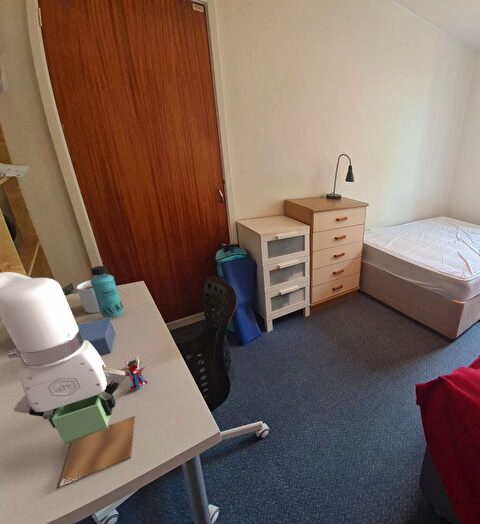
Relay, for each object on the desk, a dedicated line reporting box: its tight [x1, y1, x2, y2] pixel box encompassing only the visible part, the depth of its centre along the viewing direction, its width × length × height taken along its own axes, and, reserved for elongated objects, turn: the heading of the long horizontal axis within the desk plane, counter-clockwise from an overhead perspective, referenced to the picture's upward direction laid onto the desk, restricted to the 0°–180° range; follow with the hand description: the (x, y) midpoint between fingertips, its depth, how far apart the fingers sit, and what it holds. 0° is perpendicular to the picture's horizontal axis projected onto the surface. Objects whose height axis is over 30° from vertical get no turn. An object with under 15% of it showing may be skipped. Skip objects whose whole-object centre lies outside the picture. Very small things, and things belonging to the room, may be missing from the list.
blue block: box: [77, 317, 116, 357], centre depth 87 cm, size 11×11×6 cm
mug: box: [76, 279, 101, 314], centre depth 107 cm, size 11×10×10 cm
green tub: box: [52, 395, 111, 445], centre depth 56 cm, size 6×6×6 cm
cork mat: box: [60, 415, 136, 484], centre depth 60 cm, size 11×11×1 cm
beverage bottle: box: [89, 265, 124, 319], centre depth 100 cm, size 6×7×20 cm
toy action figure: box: [124, 356, 149, 392], centre depth 76 cm, size 5×12×6 cm, turn 42°
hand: (87, 417), depth 56 cm, fingers closed on green tub, 6 cm apart
